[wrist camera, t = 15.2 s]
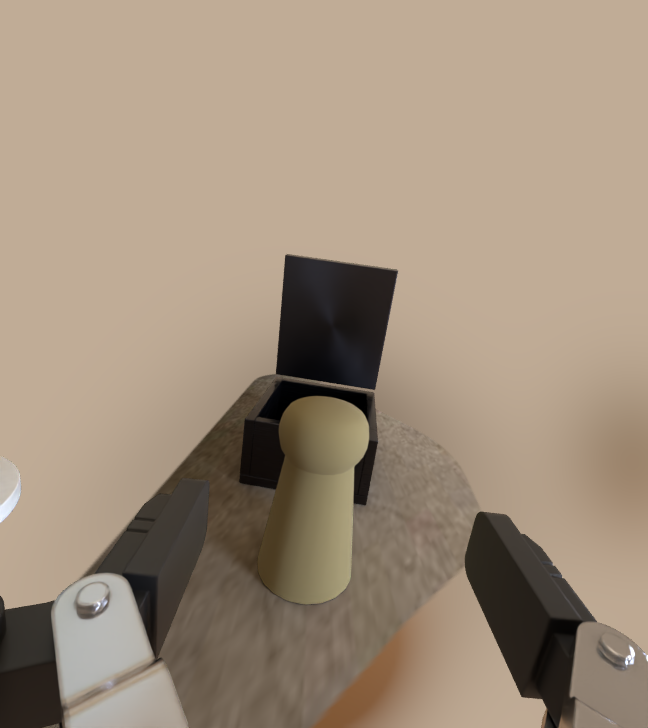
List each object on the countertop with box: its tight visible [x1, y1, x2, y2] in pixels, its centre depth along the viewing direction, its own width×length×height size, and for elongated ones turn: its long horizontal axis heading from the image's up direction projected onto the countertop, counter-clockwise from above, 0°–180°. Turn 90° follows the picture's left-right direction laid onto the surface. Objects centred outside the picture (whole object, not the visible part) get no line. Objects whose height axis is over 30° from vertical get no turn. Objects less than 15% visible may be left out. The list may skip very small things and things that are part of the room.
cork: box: [257, 396, 369, 604], centre depth 24 cm, size 6×6×11 cm
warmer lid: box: [276, 254, 398, 390], centre depth 41 cm, size 12×11×5 cm
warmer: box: [239, 377, 378, 505], centre depth 37 cm, size 12×11×6 cm
